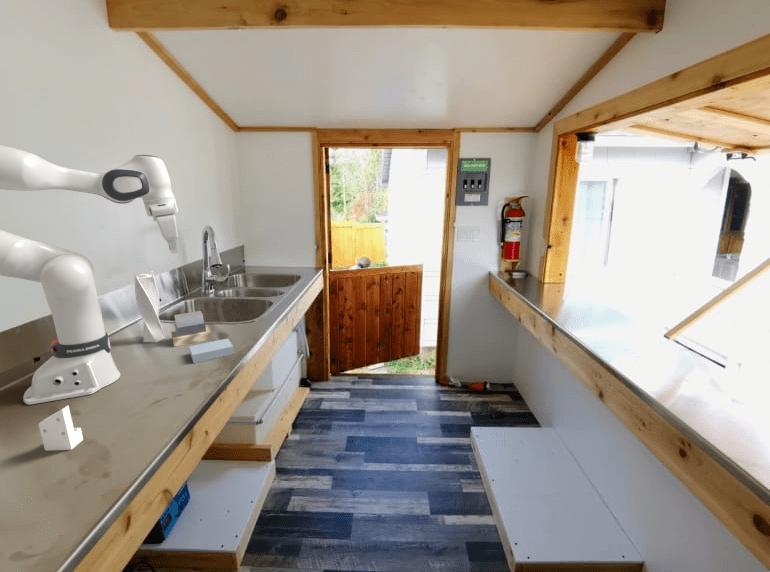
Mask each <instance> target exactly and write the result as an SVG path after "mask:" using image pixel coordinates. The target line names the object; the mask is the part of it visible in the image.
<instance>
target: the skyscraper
mask: <svg viewBox="0 0 770 572" xmlns="http://www.w3.org/2000/svg"><path fill="white" fill-rule="evenodd" d="M134 294H135V301H136V305H137V309H138V311H139V314H140V316H141V318H142V321H143V339H142V340H141V341H140V343H147V344H149V343H151V344H153V343H154V344H157V343H159V342H161V341H163V340H164V339H167V338H168V337H169V335H165V332H164V328H163V326H162V323H161V321H160V317H159V315H160V304H161V303H160V293H159V289H158V285H157V283H156V278H155V275H154V270H152V269H150V271H149V273H141V274H139V275H135V274H134Z"/></svg>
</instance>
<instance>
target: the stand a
mask: <svg viewBox="0 0 770 572" xmlns="http://www.w3.org/2000/svg"><path fill="white" fill-rule="evenodd" d="M205 326H206V332H202V333H197V334H191V335H186V336H181V337H177V335H176V331H175V330H174V331H170V334H171V340H172V343H173V347H174V348H175V346H176V347H181V346H185V345H189V344H195V343H200V342H206V341H210V340H212V339H213V336H212V331H211V329H210V327H209V326H208V325H205ZM180 345H181V346H180Z"/></svg>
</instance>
